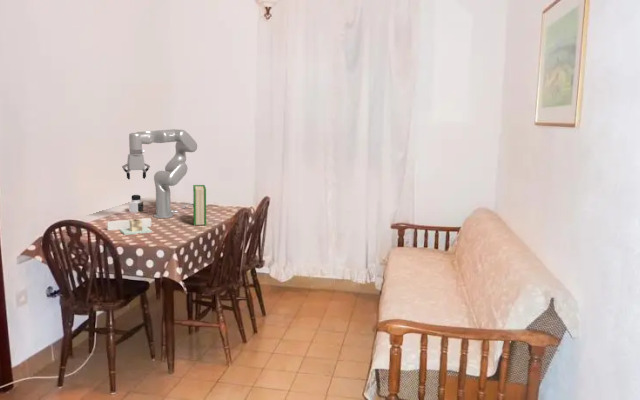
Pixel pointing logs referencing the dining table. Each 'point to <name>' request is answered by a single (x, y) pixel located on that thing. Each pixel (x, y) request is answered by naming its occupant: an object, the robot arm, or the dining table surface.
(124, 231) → the sage mat
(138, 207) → the medicine bottle
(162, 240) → the dining table surface
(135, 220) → the maple letter block
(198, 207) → the hardback book
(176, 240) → the dining table surface
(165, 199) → the robot arm
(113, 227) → the off-white screen
